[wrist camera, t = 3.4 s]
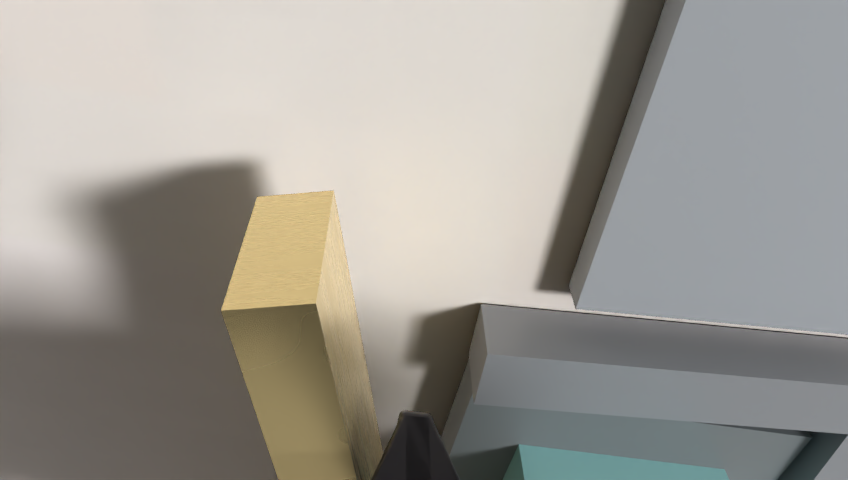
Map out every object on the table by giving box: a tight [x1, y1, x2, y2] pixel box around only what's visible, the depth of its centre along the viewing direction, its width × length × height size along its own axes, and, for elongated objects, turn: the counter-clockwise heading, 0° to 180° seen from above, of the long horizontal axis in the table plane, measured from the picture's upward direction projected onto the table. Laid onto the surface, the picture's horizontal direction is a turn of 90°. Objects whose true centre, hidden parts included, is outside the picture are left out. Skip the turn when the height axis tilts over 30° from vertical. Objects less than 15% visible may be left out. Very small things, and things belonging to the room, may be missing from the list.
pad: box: [569, 0, 848, 335], centre depth 10 cm, size 6×6×1 cm
